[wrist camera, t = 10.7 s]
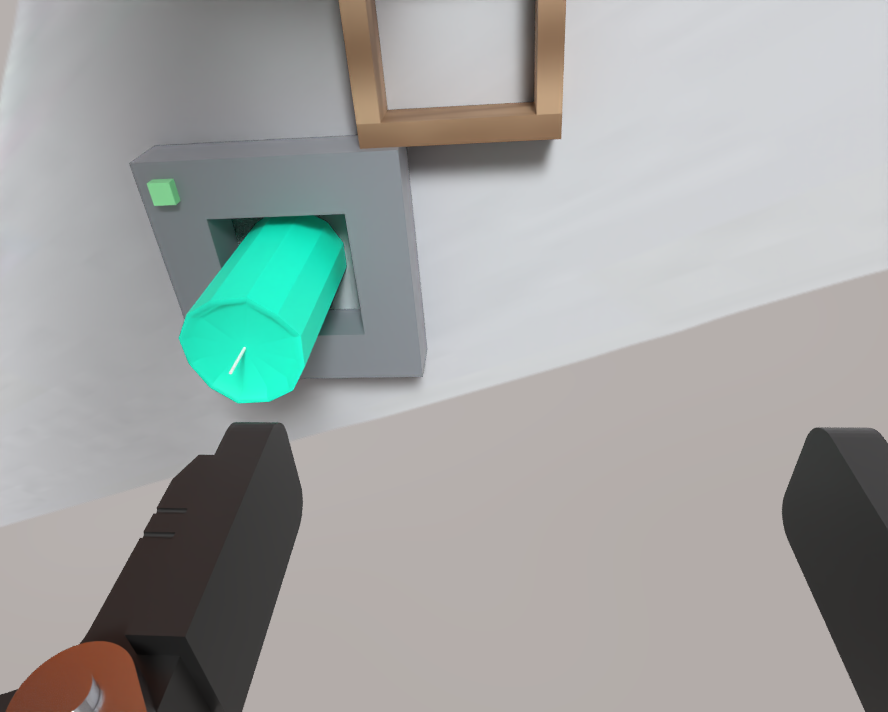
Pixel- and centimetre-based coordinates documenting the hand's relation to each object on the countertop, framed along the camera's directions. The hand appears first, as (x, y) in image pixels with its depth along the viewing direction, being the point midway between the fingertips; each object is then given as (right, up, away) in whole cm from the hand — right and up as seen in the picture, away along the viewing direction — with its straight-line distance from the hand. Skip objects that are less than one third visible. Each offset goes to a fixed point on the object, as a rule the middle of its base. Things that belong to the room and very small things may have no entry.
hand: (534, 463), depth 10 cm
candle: (-10, +8, +29) cm, 31 cm away
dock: (-10, +8, +28) cm, 31 cm away
